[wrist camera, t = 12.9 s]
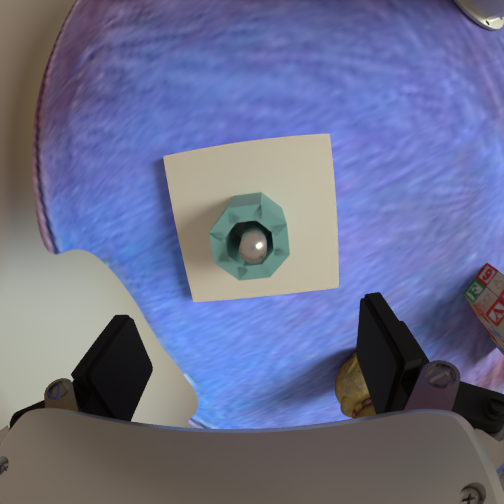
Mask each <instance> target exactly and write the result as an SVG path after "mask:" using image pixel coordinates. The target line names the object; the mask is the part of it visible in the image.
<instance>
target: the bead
mask: <svg viewBox="0 0 504 504" xmlns="http://www.w3.org/2000/svg"><path fill="white" fill-rule="evenodd" d="M254 220H256V221H258V222H259V223H260V224H262V225H263V226H264V227H266V228H267V229H268V230H270V232H269V233H268V235H267V254H266V256H265V258H264V259H263V260H262V261H260V262H258V263H248V262H246V261H244V260H243V259H242V258H241V256H240V254H239V247H240V243H241V239H242V238H241V237H239V236H238V235H237V234H235V228H234V225H235V224H236V223H238V222H246V221H254ZM209 238H210V243H211V248H212V253H213V259H214V263H215V264H216V265H218V266H219V267H221V268H222V269H223V270H225V271H226V272H228V273H229V274H231V275H232V276H233V277H235V278H236V279H238V280H239V281H241V280H251V279H260V278H270V277H271V276H272V275H273V273H274V272H275V271H276V270H277V269H278V268H279V267H280V266H281V264H282V263H283V262H284V261H285V260H286V259H287V258H288V256H289V255H290V250H289V240H288V230H287V223H286V219H285V216H284V213H283V209H282V208H281V207H280V206H279V205H278V204H276V203H275V202H274V201H272V200H271V199H270V198H269V197H267V196H266V195H265V194H263V193H262V192H258V193H250V194H242V195H235V197H234V198H233V199H232V200H231V202H230V203H229V204H228V206H227V207H226V208H225V210H224V211H223V212H222V214H221V215H220V217H219V218H218V220H217V221H216V223H215V224H214V226H213V227H212V229H211V230H210V232H209Z"/></svg>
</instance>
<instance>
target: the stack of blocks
mask: <svg viewBox="0 0 504 504" xmlns="http://www.w3.org/2000/svg"><path fill="white" fill-rule="evenodd" d="M463 295H464V296H465V298H466V299H467V301H468V302H469V304H470V306H471V307H472V309H473V310H474V312H475V313H476V315H477V317H478V318H479V320H480V321H481V322H482V323H483V325H484V326H485V328H486V329H487V331H488V332H489V334H490V337H491V338H492V340H493V342H494V343H495V345H496V346H497V348H498V349H499V350H500V351H501V352H502V354H503V355H504V275H503V274H502V273H501V272H499V271H498V270H497V269H495V268H494V267H492V266H491V265H490V264H488V263H487V264H486V265H485V266H484V268H483V269H482V270H481V272H480V273H479V274H478V276H477V277H476V279H475V280H474V281H473V282H472V284H471V285H470V286H469V287H468V289H467V290H466V291H465V292H464V293H463Z"/></svg>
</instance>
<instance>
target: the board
mask: <svg viewBox="0 0 504 504" xmlns="http://www.w3.org/2000/svg"><path fill="white" fill-rule="evenodd" d="M163 159H164V165H165V171H166V177H167V182H168V188H169V193H170V199H171V204H172V209H173V214H174V219H175V224H176V229H177V234H178V238H179V243H180V247H181V252H182V256H183V261H184V265H185V269H186V273H187V278H188V282H189V286H190V290H191V294H192V298H193V302H206V301H218V300H230V299H241V298H252V297H262V296H272V295H281V294H290V293H299V292H308V291H316V290H324V289H332V288H339V263H338V230H337V210H336V195H335V182H334V170H333V160H332V150H331V141H330V133H329V134H312V135H299V136H288V137H278V138H269V139H260V140H252V141H245V142H238V143H231V144H224V145H218V146H212V147H207V148H201V149H196V150H190V151H185V152H180V153H176V154H171V155H166V156H163ZM258 192H262V193H263V194H265V195H266V196H267V197H269V198H270V199H271V200H272V201H274V202H275V203H276V204H278V205H279V206H280V207H281V208H282V209H283V213H284V216H285V219H286V223H287V230H288V240H289V250H290V255H289V256H288V258H287V259H286V260H285V261H284V262H283V263H282V264H281V266H280V267H279V268H278V269H277V270H276V271H275V272H274V273H273V275H272V276H271V277H270V278H260V279H251V280H241V281H239V280H238V279H236V278H235V277H233V276H232V275H231V274H229V273H228V272H226V271H225V270H223V269H222V268H221V267H219V266H218V265H216V264H215V263H214V259H213V253H212V248H211V243H210V238H209V232H210V230H211V229H212V227H213V226H214V224H215V223H216V221H217V220H218V218H219V217H220V215H221V214H222V212H223V211H224V210H225V208H226V207H227V206H228V204H229V203H230V202H231V200H232V199H233V198H234V197H235V195H242V194H250V193H258ZM234 228H235V234H237V235H238V236H239V237H241V238H242V239H241V243H240V247H239V254H240V256H241V258H242V259H243V260H244V261H246V262H248V263H258V262H260V261H262V260H263V259H264V258H265V256H266V254H267V235H268V233H269V232H270V230H268V229H267V228H266V227H264V226H263V225H262V224H260V223H259V222H258V221H256V220H254V221H246V222H238V223H236V224H235V225H234Z"/></svg>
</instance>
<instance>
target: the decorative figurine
mask: <svg viewBox="0 0 504 504" xmlns="http://www.w3.org/2000/svg"><path fill="white" fill-rule="evenodd" d="M335 394H336V397H337V400H338V401H339V403H340V404H341V411H342V413H343V414H344V415H346V416H348V417H352V418H353V419H354V418H360V417H365V416H371V415H376V413H375V410H374V407H373V404H372V401H371V398H370V395H369V392H368V389H367V386H366V383H365V380H364V377H363V374H362V371H361V369H360V366H359V363H358V360H357V356H356V352H355V353H353V355H352V357H351V358H350V359H348V360H347V361H346V362H345V363H344V364H343V365H342V366H341V367H340V369H339V371H338V374H337V377H336V384H335Z"/></svg>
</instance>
